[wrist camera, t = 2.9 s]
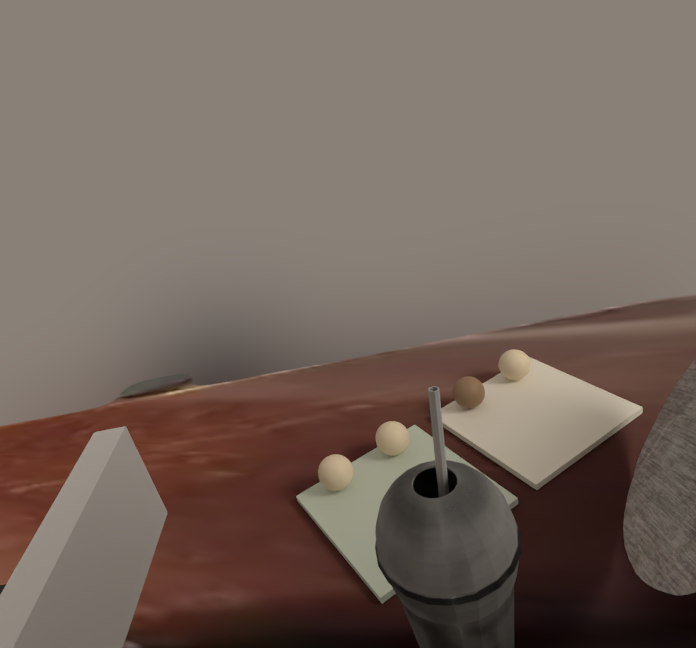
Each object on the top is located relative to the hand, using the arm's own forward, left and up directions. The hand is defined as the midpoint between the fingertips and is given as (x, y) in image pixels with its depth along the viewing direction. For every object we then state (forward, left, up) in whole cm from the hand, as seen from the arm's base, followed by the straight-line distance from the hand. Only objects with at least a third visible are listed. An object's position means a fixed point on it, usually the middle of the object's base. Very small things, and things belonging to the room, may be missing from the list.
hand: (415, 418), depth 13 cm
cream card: (-25, -22, -27) cm, 43 cm away
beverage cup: (-5, -8, -27) cm, 29 cm away
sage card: (-10, -22, -27) cm, 37 cm away
